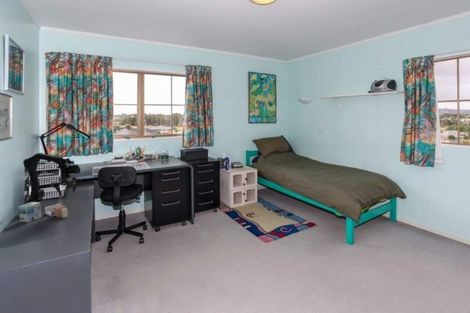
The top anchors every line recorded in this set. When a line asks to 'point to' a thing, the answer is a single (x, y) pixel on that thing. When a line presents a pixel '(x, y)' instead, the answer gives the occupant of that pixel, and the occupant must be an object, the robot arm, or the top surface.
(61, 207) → the tethered block
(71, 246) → the top surface
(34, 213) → the light bulb box
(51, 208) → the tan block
